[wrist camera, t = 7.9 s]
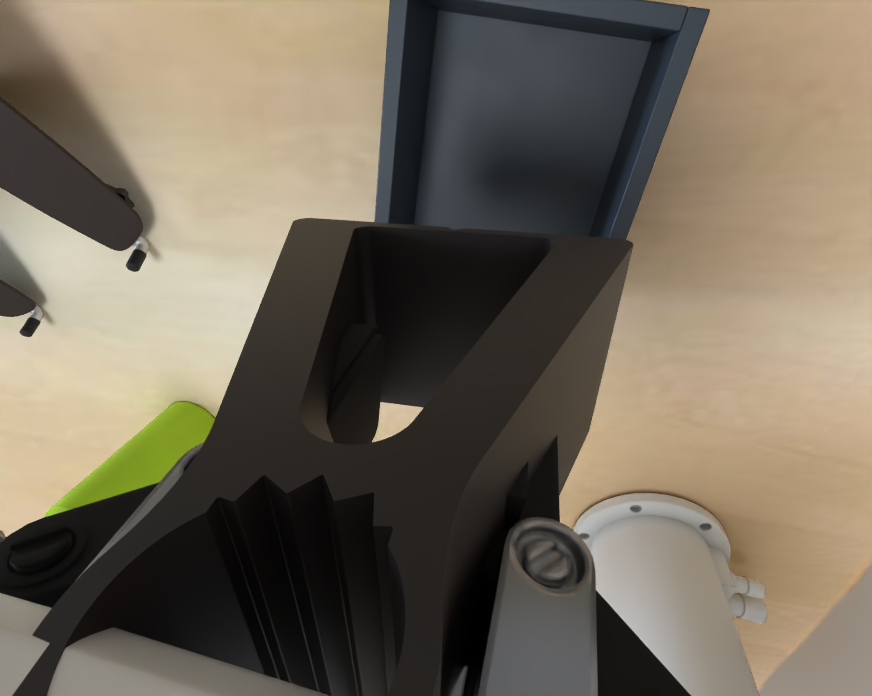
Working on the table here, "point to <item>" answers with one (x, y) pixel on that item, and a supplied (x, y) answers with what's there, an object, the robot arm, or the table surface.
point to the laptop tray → (61, 200)
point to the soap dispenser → (143, 456)
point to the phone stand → (364, 460)
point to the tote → (528, 111)
